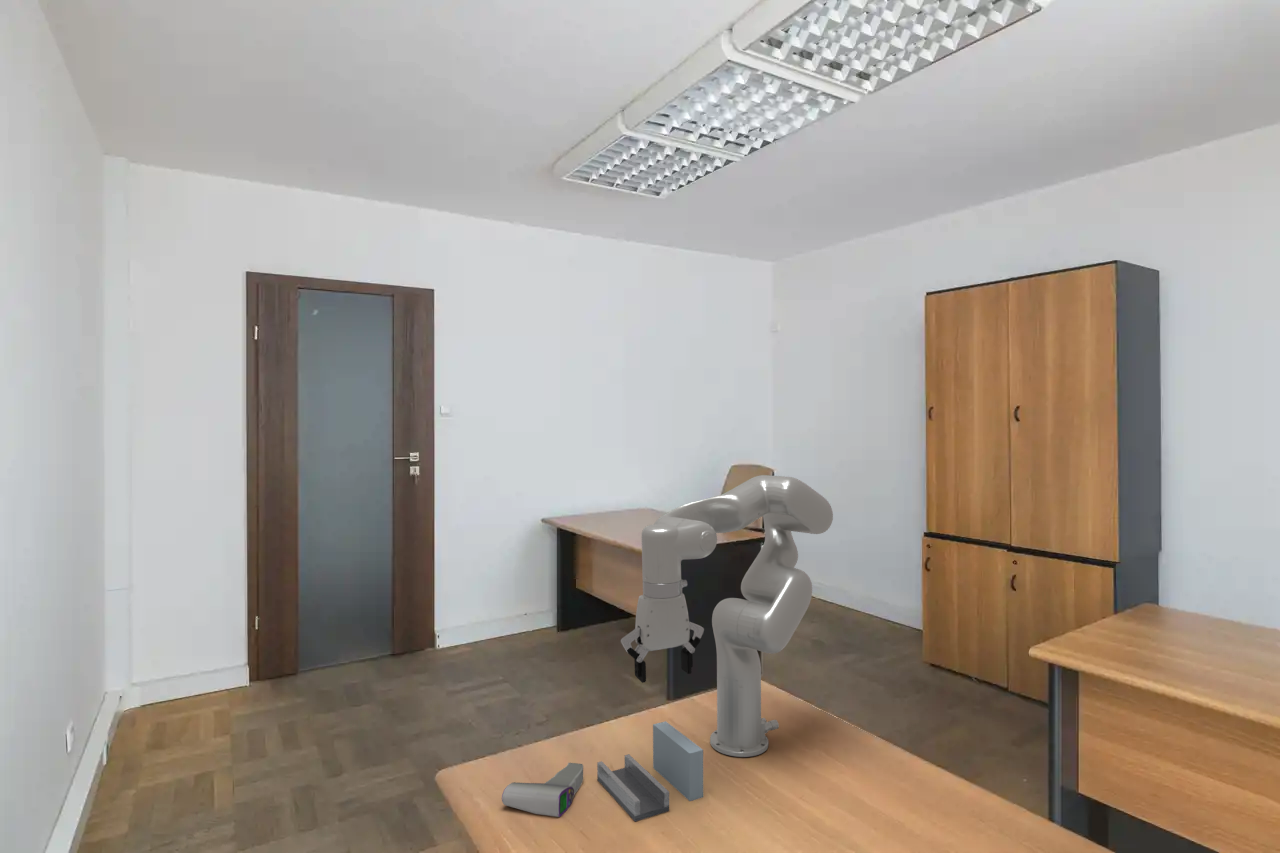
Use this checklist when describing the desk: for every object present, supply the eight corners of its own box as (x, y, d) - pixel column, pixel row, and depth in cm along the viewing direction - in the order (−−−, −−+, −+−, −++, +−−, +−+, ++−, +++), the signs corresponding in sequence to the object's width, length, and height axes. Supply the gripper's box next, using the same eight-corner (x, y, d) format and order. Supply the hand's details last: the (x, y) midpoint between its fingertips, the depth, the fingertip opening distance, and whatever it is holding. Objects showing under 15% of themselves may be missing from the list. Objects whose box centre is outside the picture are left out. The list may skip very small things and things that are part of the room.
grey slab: (653, 768, 140) (652, 724, 140) (665, 764, 141) (665, 721, 141) (689, 801, 127) (689, 753, 127) (703, 797, 129) (703, 749, 129)
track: (597, 780, 135) (597, 762, 135) (629, 771, 138) (628, 754, 138) (635, 821, 121) (634, 802, 121) (669, 811, 124) (669, 791, 124)
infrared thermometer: (588, 783, 136) (563, 821, 121) (530, 776, 139) (499, 813, 124) (588, 759, 136) (563, 794, 122) (531, 753, 139) (500, 787, 124)
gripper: (693, 579, 140) (695, 662, 141) (613, 589, 134) (616, 676, 134) (710, 587, 133) (712, 675, 134) (627, 599, 127) (630, 690, 127)
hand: (664, 675), depth 134 cm, fingers open, 9 cm apart
